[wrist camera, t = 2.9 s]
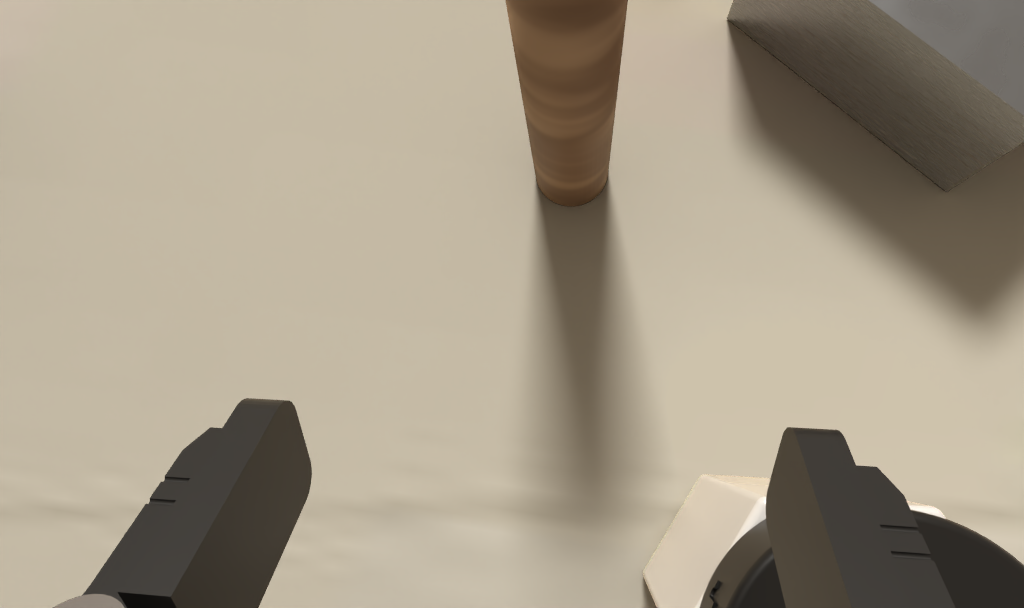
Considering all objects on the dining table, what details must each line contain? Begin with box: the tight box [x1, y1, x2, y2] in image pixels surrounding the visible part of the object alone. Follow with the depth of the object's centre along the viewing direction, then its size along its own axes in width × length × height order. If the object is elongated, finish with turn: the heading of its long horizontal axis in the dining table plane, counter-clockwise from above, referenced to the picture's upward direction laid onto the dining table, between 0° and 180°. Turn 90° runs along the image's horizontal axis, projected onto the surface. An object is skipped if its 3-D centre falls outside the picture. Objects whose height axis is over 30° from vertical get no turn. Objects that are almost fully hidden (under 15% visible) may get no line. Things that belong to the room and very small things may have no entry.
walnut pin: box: [506, 0, 628, 206], centre depth 23 cm, size 3×3×14 cm
